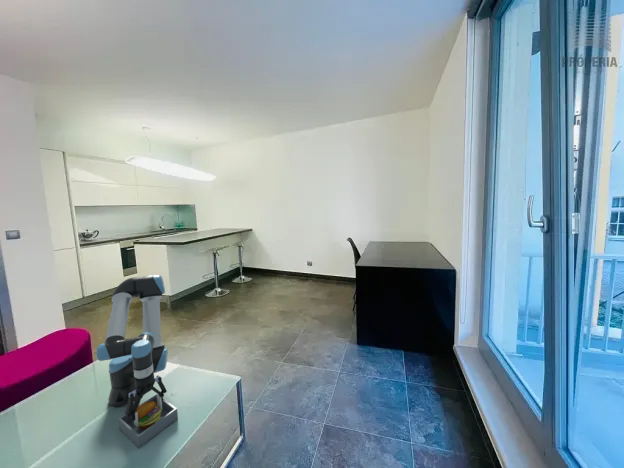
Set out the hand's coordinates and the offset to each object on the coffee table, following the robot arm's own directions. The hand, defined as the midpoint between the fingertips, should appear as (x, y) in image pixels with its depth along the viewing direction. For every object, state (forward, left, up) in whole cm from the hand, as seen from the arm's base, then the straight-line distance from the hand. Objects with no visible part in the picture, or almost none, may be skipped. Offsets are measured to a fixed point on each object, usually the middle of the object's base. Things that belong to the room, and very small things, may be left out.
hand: (148, 416), depth 124 cm
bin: (0, 0, -5) cm, 5 cm away
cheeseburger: (0, 0, -3) cm, 3 cm away
